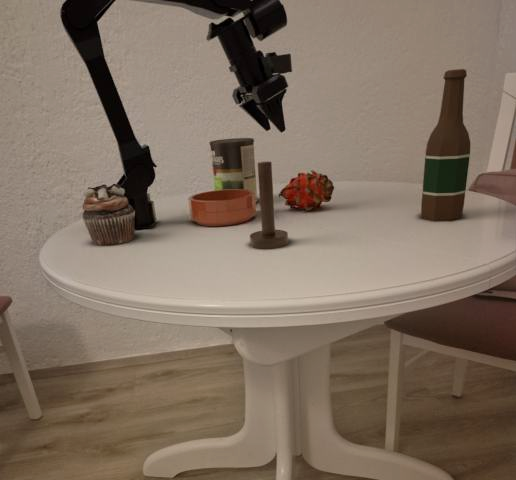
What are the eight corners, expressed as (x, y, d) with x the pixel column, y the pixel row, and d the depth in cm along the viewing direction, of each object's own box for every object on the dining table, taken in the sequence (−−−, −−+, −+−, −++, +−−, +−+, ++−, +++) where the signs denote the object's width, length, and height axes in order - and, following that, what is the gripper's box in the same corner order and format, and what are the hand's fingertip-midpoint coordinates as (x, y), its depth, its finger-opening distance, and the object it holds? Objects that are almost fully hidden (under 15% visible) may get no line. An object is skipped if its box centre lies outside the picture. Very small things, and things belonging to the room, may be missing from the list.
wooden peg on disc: (251, 250, 79) (244, 166, 73) (249, 240, 84) (243, 161, 79) (290, 247, 79) (286, 163, 73) (286, 237, 85) (282, 158, 79)
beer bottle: (455, 222, 85) (473, 67, 74) (412, 219, 90) (423, 72, 79) (468, 213, 91) (487, 67, 80) (427, 210, 95) (440, 72, 84)
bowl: (189, 229, 95) (185, 203, 93) (194, 215, 107) (191, 192, 105) (257, 224, 95) (256, 198, 93) (254, 210, 107) (253, 187, 105)
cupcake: (77, 245, 90) (63, 190, 85) (110, 232, 98) (100, 180, 93) (117, 247, 86) (105, 190, 82) (149, 234, 94) (140, 180, 89)
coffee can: (225, 208, 111) (218, 143, 105) (210, 202, 120) (203, 141, 113) (265, 202, 115) (261, 138, 108) (247, 196, 123) (243, 137, 117)
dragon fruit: (339, 215, 104) (284, 227, 105) (331, 186, 108) (279, 198, 109) (338, 186, 96) (279, 199, 98) (329, 157, 100) (273, 170, 102)
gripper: (293, 24, 86) (326, 110, 94) (261, 38, 102) (291, 111, 110) (241, 56, 85) (278, 140, 93) (217, 65, 101) (250, 136, 109)
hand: (275, 130), depth 101 cm, fingers open, 9 cm apart
